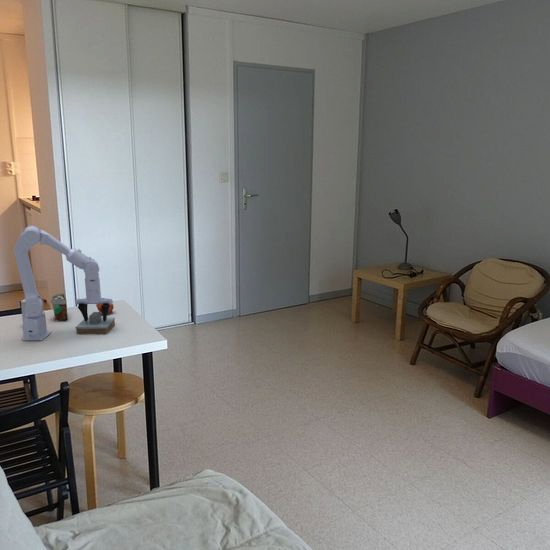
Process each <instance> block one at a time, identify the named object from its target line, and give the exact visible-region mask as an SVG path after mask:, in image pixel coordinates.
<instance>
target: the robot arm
mask: <svg viewBox="0 0 550 550" xmlns="http://www.w3.org/2000/svg"><path fill="white" fill-rule="evenodd" d="M19 234H20V235H19V236H18V239H17V241H16V243H15V245H14V248H13V254H14V258H15V262H16V266H17V270H18V273H19V278H20V281H21V282H20V283H21V286H22V288H23V289H22V290H23V293H24V299H25V301H26V307H25V312H26V314H25V317H26V319H25V321H24V323H23V322H22V331H23V332H22V333H23V338H21V341H44V339H46V338H47V336H49V335H50V334H51V333H52V331H48V330H47V329H48V326H47V319H46V312H45V311H43V307H44V300H43V299H42V298H41V296H40V294H39V291H38V288H37V286H36V285H37V284H36V281H35V276H34V273H33V269H32V265H31V261H30V256H29V251H30V250H31V249H32V247H34V246H35V245H37V244H38V243H39V245H40V246H41V245H42V246H43V245H45V246H49V247H51V248H53V249H54V250H56V251H57V252H59V253H61V254H63V255H64V256H65V260H66V261H68V262H69V263H70V264H72V265H74V266H75V267H76V268H78V269H79V270H82V271H83V272H84V276H85V277H84V285H85V297H86V298H77V299H75V305H77V309H78V310H79V312H80V313H81V315H82V317H83V320H85V322H86V321H88V318H89V315H88V314H89V313H88V305H96V304H103V305H102V306H101V308H102V313H103V314H102V313H101V314H102V317H103V321H106V319H107V316H108V314H109V313H108V310H109V307H110V305H111V304H112V303H113V302H112V301H113V298H107V297H106V298H103V297H102V294H101V282H100V277H99V276H100V273H99V272H100V268H99V264H98V262H97V261H96V260H95V259H94V258H92V257H91V256H87V254H85V253H83V252H82V250H81V249H80V248H78V249H77V248H70V247H69V246H67V245H65V244H64V243H63V242H61V241H60V240H58V239H57V238H55V237H54V236H53V235H51V234H50V233H48V232H47V231H46V230H43V229H40V228H39V227H38V226H37V225H28V226H26V227H25V229H23V230H22V231H21V232H20V233H19ZM107 313H108V314H107Z"/></svg>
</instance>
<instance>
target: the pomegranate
mask: <svg viewBox="0 0 550 550" xmlns="http://www.w3.org/2000/svg"><path fill="white" fill-rule="evenodd" d="M113 302H114V300H112V304H111V305H110V307H109V310H108V313H107V315H108V314H110V313H112V312H113V310H114V307H115V306H114V303H113ZM102 305H103V304H95V306H96V308H97V310H98V312H101V315H103V313H102V308H101V306H102Z"/></svg>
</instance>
